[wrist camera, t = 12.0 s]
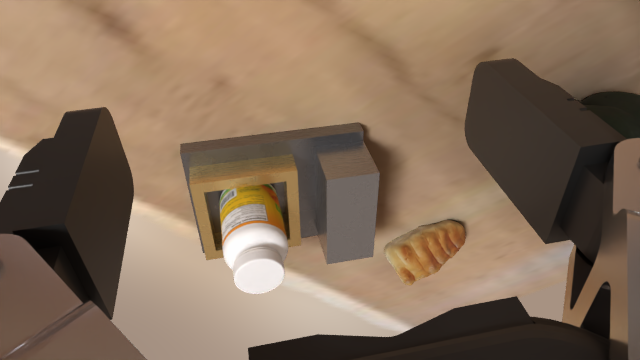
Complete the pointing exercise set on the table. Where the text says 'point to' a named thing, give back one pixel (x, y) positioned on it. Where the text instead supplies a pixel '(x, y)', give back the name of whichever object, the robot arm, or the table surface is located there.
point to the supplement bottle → (253, 237)
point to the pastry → (424, 249)
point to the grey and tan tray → (292, 185)
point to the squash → (617, 111)
